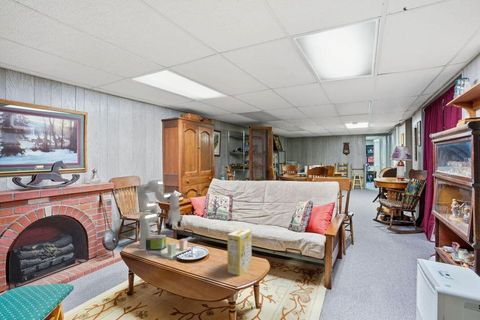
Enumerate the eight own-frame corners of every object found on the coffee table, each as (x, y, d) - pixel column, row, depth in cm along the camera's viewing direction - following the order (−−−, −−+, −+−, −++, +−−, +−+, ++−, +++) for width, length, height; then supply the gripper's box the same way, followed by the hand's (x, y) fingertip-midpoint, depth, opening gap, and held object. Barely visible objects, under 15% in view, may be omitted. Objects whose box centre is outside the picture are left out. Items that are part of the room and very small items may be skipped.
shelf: (160, 255, 201) (160, 250, 201) (178, 248, 217) (178, 243, 217) (173, 260, 191) (173, 254, 191) (191, 252, 208) (191, 247, 208)
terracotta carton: (179, 250, 208) (179, 240, 209) (183, 248, 213) (183, 238, 213) (183, 251, 206) (183, 241, 206) (187, 249, 210) (187, 239, 210)
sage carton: (171, 256, 195) (171, 245, 195) (167, 254, 198) (167, 244, 198) (176, 254, 199) (176, 243, 199) (172, 252, 202) (172, 242, 202)
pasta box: (240, 263, 186) (240, 228, 187) (251, 266, 181) (251, 230, 181) (227, 272, 171) (227, 234, 171) (239, 275, 165) (239, 236, 166)
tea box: (166, 250, 212) (166, 234, 212) (161, 255, 202) (161, 238, 202) (150, 250, 213) (151, 234, 213) (145, 254, 203) (145, 237, 203)
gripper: (179, 206, 207) (179, 225, 207) (163, 209, 193) (163, 229, 192) (185, 206, 203) (185, 226, 202) (169, 210, 188) (169, 231, 188)
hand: (174, 228), depth 197 cm, fingers open, 9 cm apart
